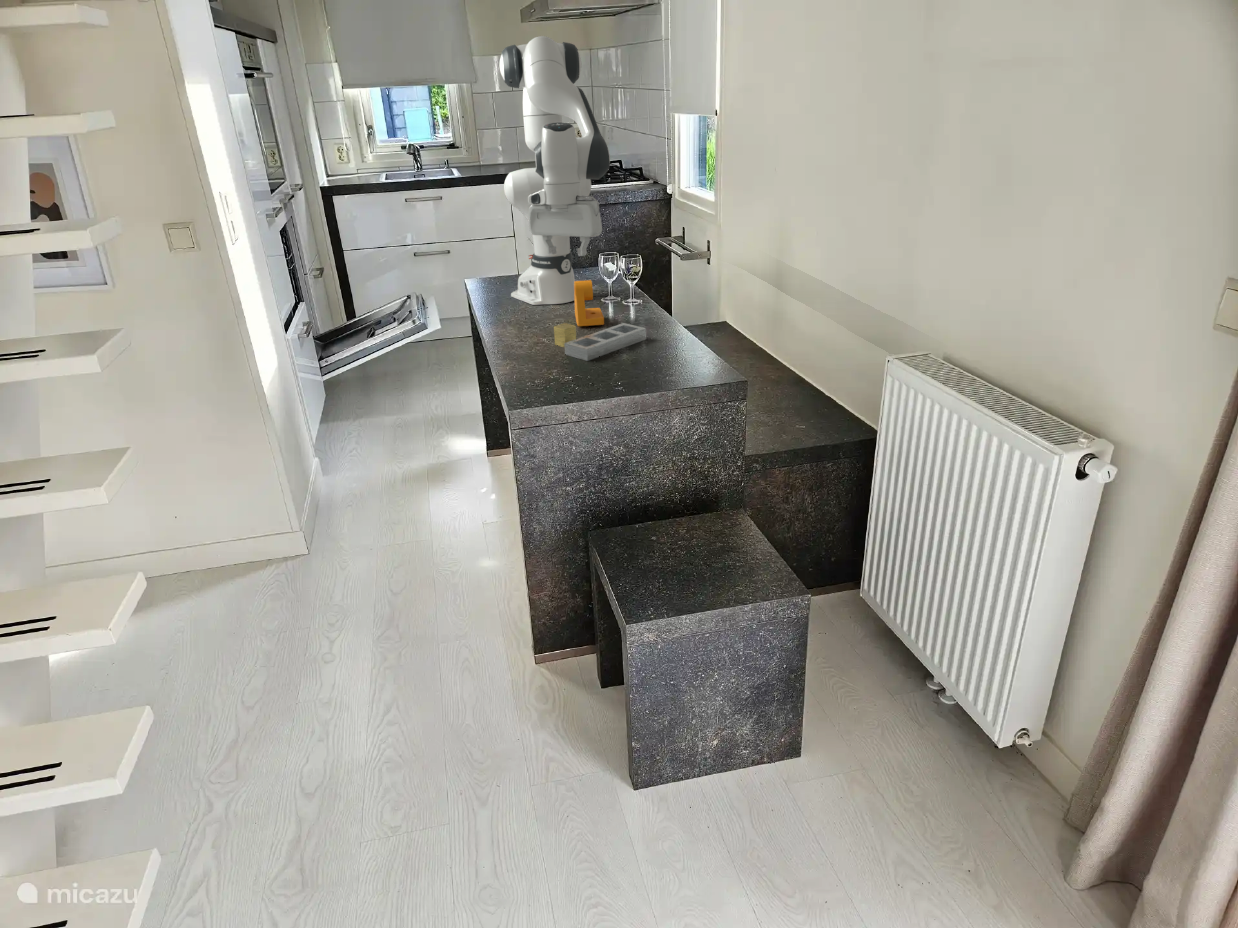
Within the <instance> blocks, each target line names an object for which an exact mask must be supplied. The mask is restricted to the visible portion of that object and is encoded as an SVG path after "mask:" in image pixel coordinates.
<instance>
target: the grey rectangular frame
mask: <svg viewBox="0 0 1238 928" xmlns="http://www.w3.org/2000/svg"><path fill="white" fill-rule="evenodd" d="M646 340H647V328H646V327H643V326H638V325H634V324H630V323H625V322H622V323H620V324H617V325H614V326H610V327H608V328H605V329H602V330H599V331H596V332H593V333H591V334H587V335H584V336H581V337H579V338H576V339H575V340H572V341H569V342H566V343H564V345H565V347H564V355H565V354H566V356H569V357H572V358H577V359H579V360H583V361H591V360H595V359H597V358H599V356H600V357H602V356H604V355H608V354H610V353H613V352H615V351H619V350H621V349H623V348H626V347H629V346H631V345H635V344H637V343H640V342H642V341H643V342H644V341H646Z"/></svg>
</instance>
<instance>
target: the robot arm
mask: <svg viewBox="0 0 1238 928" xmlns="http://www.w3.org/2000/svg"><path fill="white" fill-rule="evenodd" d="M499 58H500V59H499V72H500V75H501V77H502V79H503V82H504V83H505V85H506V86H508V87H510V88H514V89H520V88H522V89H523V90H522V118H523V130H524V142H525V144H526V146H527V148H528V150H530V151H531V152H533V153H534V160H535V167H528V168H527V167H526V168H525V167H524V168H522V169H517V170H514V171H511V172H510V171H509V172H508V174H507V175H506V177H505V180H504V183H503V192H504V196H505V198H506V200H507V202H508V203H509V204H511V206H513V207H514V208H516V209H517V210H518V211H519V212H520V213H522V215H523V216H524V217H525V220H527V222H528V227H529V232H530V233H531V235H532V236H531V237H532V244H533V254H529V255H528V257H529V258H528V259H529V260H531V262H530V266H529V267H527V268H526V270H525V271H524V272H523V273H522V274H520V275H519V276H518V278H517V279H518V280H517V290H513V291H512V292H511V293H510V297H511V298H514V299H517V300H519V301H521V302H525V303H527V304H530V305H533V306H539V305H557V304H565V303H570V302H573V301H574V302H575V300H574V281H576V279H575V273H574V269H573V267H572V266H573V254H572V251H571V244H570V243H571V242H570V241H571V239H570V237H575V238H576V237H577V238H578V237H579V241H580V243H581V244H580V246H579V247H578V248H576V250H577V256H578V257H585V256H587V248H588V245H589V244H590V241H591V238H593V237H600V236H601V234H602V232H603V225H602V218H601V213H600V203H599V201H598V199H596V198H595V197H594V196H593V195H592V196H591V195H590V194H591V191H592V180H600V179H602V178H603V176H604V175H606V173H607V172H608V171H609V170H610V166H611V165H610V164H611V154H610V150H609V147H608V144H607V142H606V140H605V139H604V137H603V135H602V133H601V131H600V129H599V125H598V124H597V121H596V118H595V116H594V113H593V111H592V108H591V105H590V103H589V101H588V98H587V96H586V94H585V92H584V90H583V89H582V88H581V87H578V86H577V85H576V84H575V83H576V82H578V80H579V78H580V74H581V71H582V57H581V55H580V52H579V49H578V48H577V46H576V45H575V44H574V43H572V42H571V43H570V42H566V41H563V42H562V43H561V42H556V41H555V40H554V39H553V38H551V37H549V36H545V35H539V36H535V37H533V38H531V39H530V40H529V41H528V43H526V44H525V43H524V44H520V45H516V44H511V45H509V46H506V47H504V48H503V50H502V51H501V54H500V57H499ZM563 117H566V118H568V119H570V120H572V121H574V123H576V124H577V127H578V129H579V132H580V134H581V137H577V134H576V130H575V126H574V125H573V124H571V123H570V122H569V123H568V122H563Z"/></svg>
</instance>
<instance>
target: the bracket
mask: <svg viewBox="0 0 1238 928" xmlns="http://www.w3.org/2000/svg"><path fill="white" fill-rule="evenodd" d="M593 287H594V286H593V281H592V279H588V280H575V281H574V317H575V322H576V325H577V327H589V326H601V325H605V316H604V314H603V312H602V310H601V308H600V307H590V308H586V302H585V301H593V300H594V299H593V298H594V289H593Z"/></svg>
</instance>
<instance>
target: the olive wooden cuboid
mask: <svg viewBox="0 0 1238 928" xmlns="http://www.w3.org/2000/svg"><path fill="white" fill-rule="evenodd" d="M553 335H554V336H553V337H554V346H557V345H558V346H557V347H561V348H565V345H564V343H566V342H569V341H572V340H575V339H577V326H576V325H574V324H570V323H566V322H563V323H560V324H557V325H554V326H553Z"/></svg>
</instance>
